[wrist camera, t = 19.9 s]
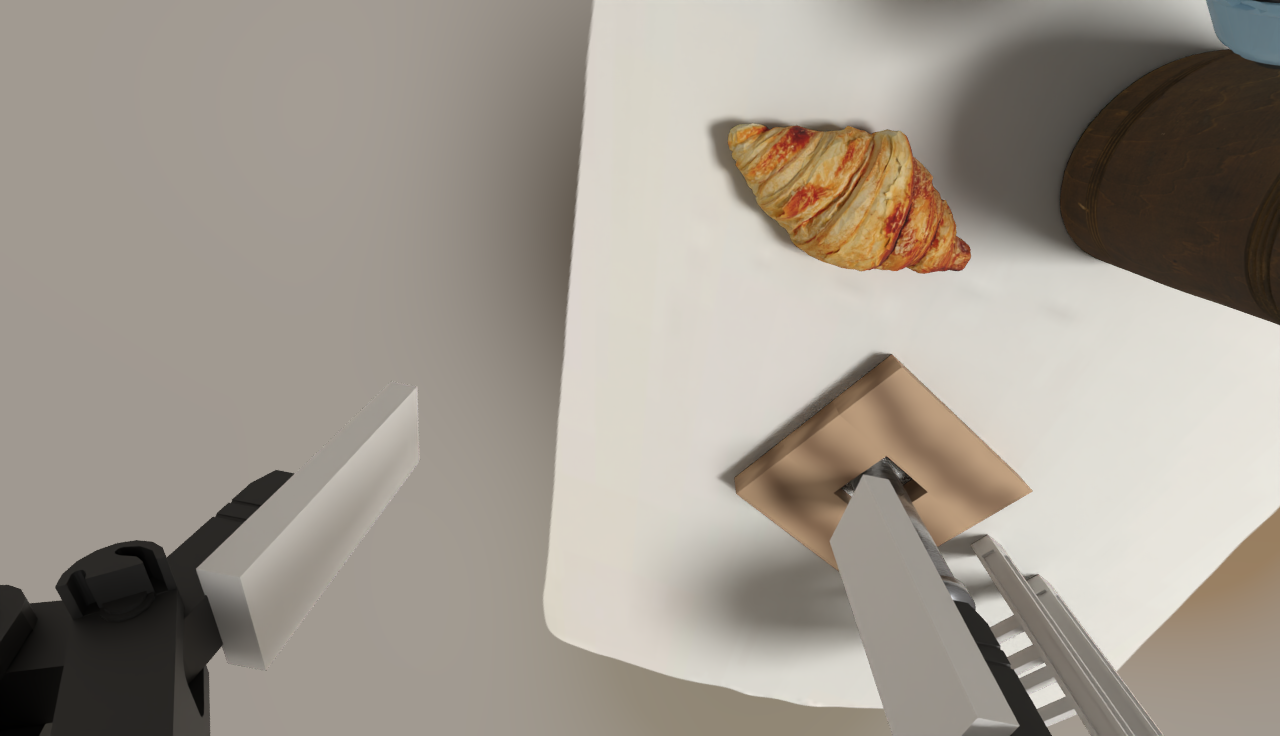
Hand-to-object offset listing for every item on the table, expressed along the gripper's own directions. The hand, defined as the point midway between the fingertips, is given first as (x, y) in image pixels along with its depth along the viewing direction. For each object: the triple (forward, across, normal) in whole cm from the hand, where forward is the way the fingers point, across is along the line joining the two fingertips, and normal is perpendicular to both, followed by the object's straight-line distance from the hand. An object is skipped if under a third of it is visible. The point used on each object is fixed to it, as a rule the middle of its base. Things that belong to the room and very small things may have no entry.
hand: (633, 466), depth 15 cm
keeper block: (+32, +26, -21) cm, 46 cm away
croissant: (+32, +13, +5) cm, 35 cm away
